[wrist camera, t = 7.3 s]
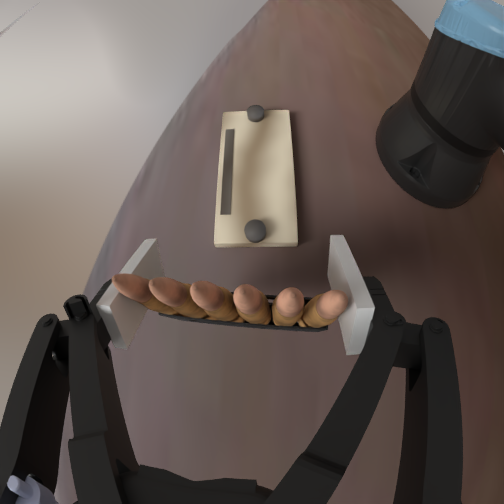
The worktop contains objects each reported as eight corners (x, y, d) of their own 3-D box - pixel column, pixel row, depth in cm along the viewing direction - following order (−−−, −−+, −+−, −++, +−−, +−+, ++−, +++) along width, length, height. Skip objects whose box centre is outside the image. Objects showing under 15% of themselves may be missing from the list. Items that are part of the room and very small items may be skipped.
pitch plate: (288, 116, 34) (289, 104, 32) (297, 246, 29) (298, 238, 27) (224, 118, 35) (222, 106, 33) (216, 247, 30) (211, 240, 28)
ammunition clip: (179, 320, 22) (91, 298, 11) (182, 296, 23) (99, 254, 11) (319, 331, 21) (367, 324, 10) (321, 307, 22) (368, 273, 10)
